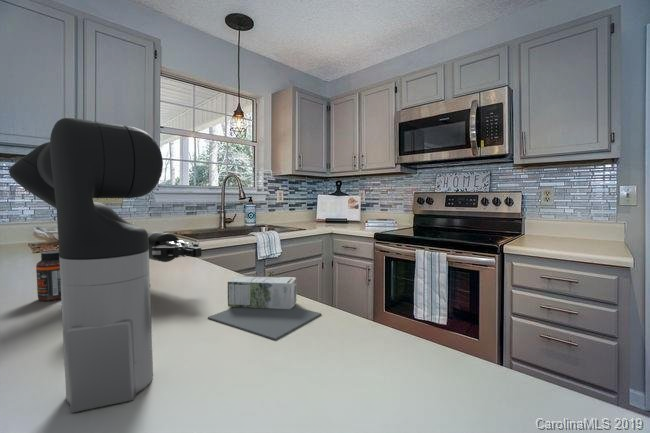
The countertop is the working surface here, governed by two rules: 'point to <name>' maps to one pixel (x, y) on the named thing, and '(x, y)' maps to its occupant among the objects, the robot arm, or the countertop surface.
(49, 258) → the supplement bottle
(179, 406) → the countertop surface
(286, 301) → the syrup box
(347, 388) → the countertop surface
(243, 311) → the mat
